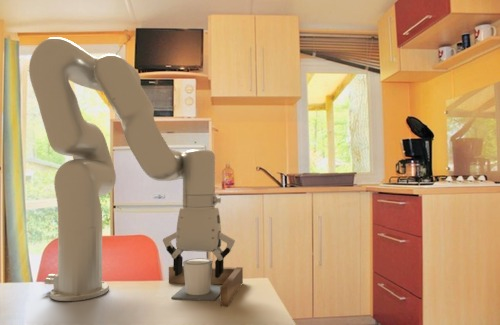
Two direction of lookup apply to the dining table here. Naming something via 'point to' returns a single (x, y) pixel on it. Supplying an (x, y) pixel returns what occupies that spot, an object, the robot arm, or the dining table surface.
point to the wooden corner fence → (218, 282)
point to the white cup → (197, 276)
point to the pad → (206, 297)
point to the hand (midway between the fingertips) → (198, 275)
